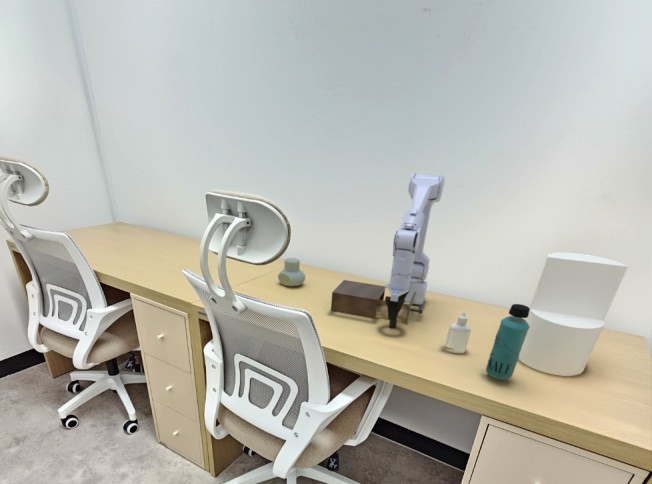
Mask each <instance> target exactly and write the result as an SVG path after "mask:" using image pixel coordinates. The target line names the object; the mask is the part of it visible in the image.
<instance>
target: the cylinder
mask: <svg viewBox="0 0 652 484" xmlns="http://www.w3.org/2000/svg"><path fill="white" fill-rule="evenodd" d="M628 268H629V266H628V265H626V264H624V263H623V262H619V261H618V260H614V259H612V258H611V259H610V258H606V257H604V256H603V257H602V256H597V255H592V254H586V253H580V252H579V253H578V252H566V251H565V252H563V251H562V252H561V251H559V252H551V253H549V254H547V256H546V259H545V261H544V265H543V267H542V271H541V273H540V276H539V279H538V281H537V285H536V288H535V291H534V293H533V296H532V299H531V302H530V305H529V308H530V310H529V315H528V317H527V318H525V320H526V322H527V323H528V324H529V329H528V332H527V334H526V337H525V340H524V343H523V346H522V348H521V351H520V354H519V356H520V357H518V361H519V362H521V363H523V364H524V365H526V366H528V367H530V368H532V369H534V370H537V371H539V372H541V373H546V374H550V375H555V376H560V377H572V376H578V375H580V374H582V373H583V372H584V370H585V368H586V366H587V364H588V361H589V359H590V357H591V355H592V352H593V350H594V348H595V346H596V345H597V341H598V339H599V338H600V335H601V333H602V332H603V331H602V330H603V328H604V327H605V319H606V316H607V315H608V312H609V310H610V308H611V305H612V303H613V301H614V299H615V297H616V294H617V292H618V289H619V288H620V286H621V284H622V281H623V279H624V276H625V275H626V272H627V270H628Z"/></svg>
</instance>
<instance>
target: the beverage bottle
mask: <svg viewBox="0 0 652 484" xmlns="http://www.w3.org/2000/svg"><path fill="white" fill-rule="evenodd" d="M529 310H530V306H527V305H524V304H522V303H521V304H520V303H513V304H511V306H510V309H509V310H508V314H509V316H505V317H504V318H502V319H500V323H499V327H498V329H497V332H496V334H495V338H494V341H493V344H492V345H493V346H492V348H491V351H490V353H489V356H488V359H487V363H486V367H485V368H486V369H485V371H486V373H487V374H488V375H489V376H490V377H492V378H495V379H499V380H508V379H511V378H512V377H513V375H514V372H515V370H516V367H517V364H518V361H519V359H518V357H520V356H519V354H520V351H521V348H522V346H523V343H524V340H525V337H526V334H527V332H528V329H529V324H528V323H527V322H526V318H527V317H528V315H529Z"/></svg>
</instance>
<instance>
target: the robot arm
mask: <svg viewBox="0 0 652 484" xmlns="http://www.w3.org/2000/svg"><path fill="white" fill-rule="evenodd" d="M445 180H446V179H445V175H443V174H441V175H438V174H423V173H415V172H414V173H413V174H411V176H410V178H409V183H408V190H407V191H408V194H409V196H410V199H411V204H410V209H408V210H406V212H405V213H404V215H403V218H402V221H401V224H400V227H399V230H396V231H395V233H394V237H393V242H392V257H393V258H392V264H391V265H392V266H391V271H390V278H389V283H386V284H385V285H384V286H385V289H388V291H389V293H390V295H389V296H388V295H386V296H384V300H385V302H386V304H387V308H388V319H389V320H388V319H387V320H388V321H390V320H392V321H396V319H397V316H398V313H399V312H400V310H401V307H402V305H403V304H405V303H406V304H409V303H410V301H411V298H412V296H413V294H414V292H416V296H415V302H414V304H420V305H421V304H424V303H425V302H426V293H427V288H428V281H425V280H426V279H427V277H428V273H429V268H430V261H431V259H430V257H429V256H428V255H427V254H426V253H425V252H424V249H425V245H426V244H425V243H426V237H427V232H428V229H429V221H430V217H431V212H432V208H433V206H434V204H435V203H439V202H440V200H441V199H442V195H443V191H444V187H445V186H444V185H445Z"/></svg>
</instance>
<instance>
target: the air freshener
mask: <svg viewBox="0 0 652 484" xmlns="http://www.w3.org/2000/svg"><path fill="white" fill-rule="evenodd" d="M300 262H301V261H300V259H299V258H296V257H287V258H285V259H284V268H283V269H282V270H281V271H280V272H279V273H278V275H277V279H278V281H279V282H280V283H281V284H282V285H284V286H285V287H289V288H290V287H298V286H300V285H302V284H304V282H305V281H306V274H305V272H304V271H303V270H301V269H300V265H301V263H300Z"/></svg>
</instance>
